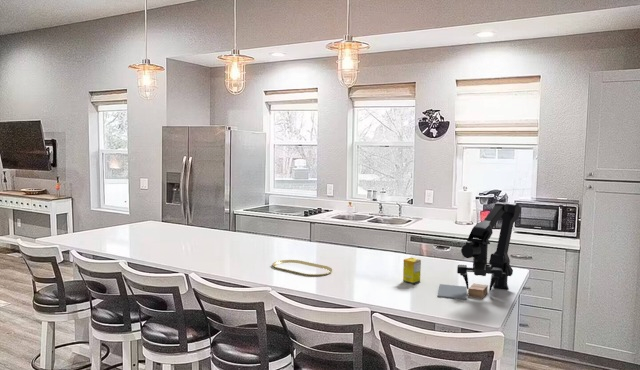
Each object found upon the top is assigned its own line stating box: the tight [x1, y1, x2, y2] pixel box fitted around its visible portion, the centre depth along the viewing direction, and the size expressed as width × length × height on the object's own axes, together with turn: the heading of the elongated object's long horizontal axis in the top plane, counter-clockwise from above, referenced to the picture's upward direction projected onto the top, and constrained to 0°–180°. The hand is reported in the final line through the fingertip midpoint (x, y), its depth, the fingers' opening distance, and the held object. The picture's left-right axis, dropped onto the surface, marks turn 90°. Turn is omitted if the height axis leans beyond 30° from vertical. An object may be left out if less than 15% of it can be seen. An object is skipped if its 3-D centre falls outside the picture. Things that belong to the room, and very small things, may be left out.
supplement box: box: [402, 257, 422, 285], centre depth 224 cm, size 6×6×11 cm
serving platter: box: [272, 259, 333, 277], centre depth 246 cm, size 19×35×2 cm, turn 52°
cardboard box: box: [467, 282, 489, 299], centre depth 207 cm, size 10×6×4 cm, turn 149°
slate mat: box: [437, 283, 468, 301], centre depth 209 cm, size 18×12×1 cm, turn 163°
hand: (478, 290), depth 207 cm, fingers open, 9 cm apart
